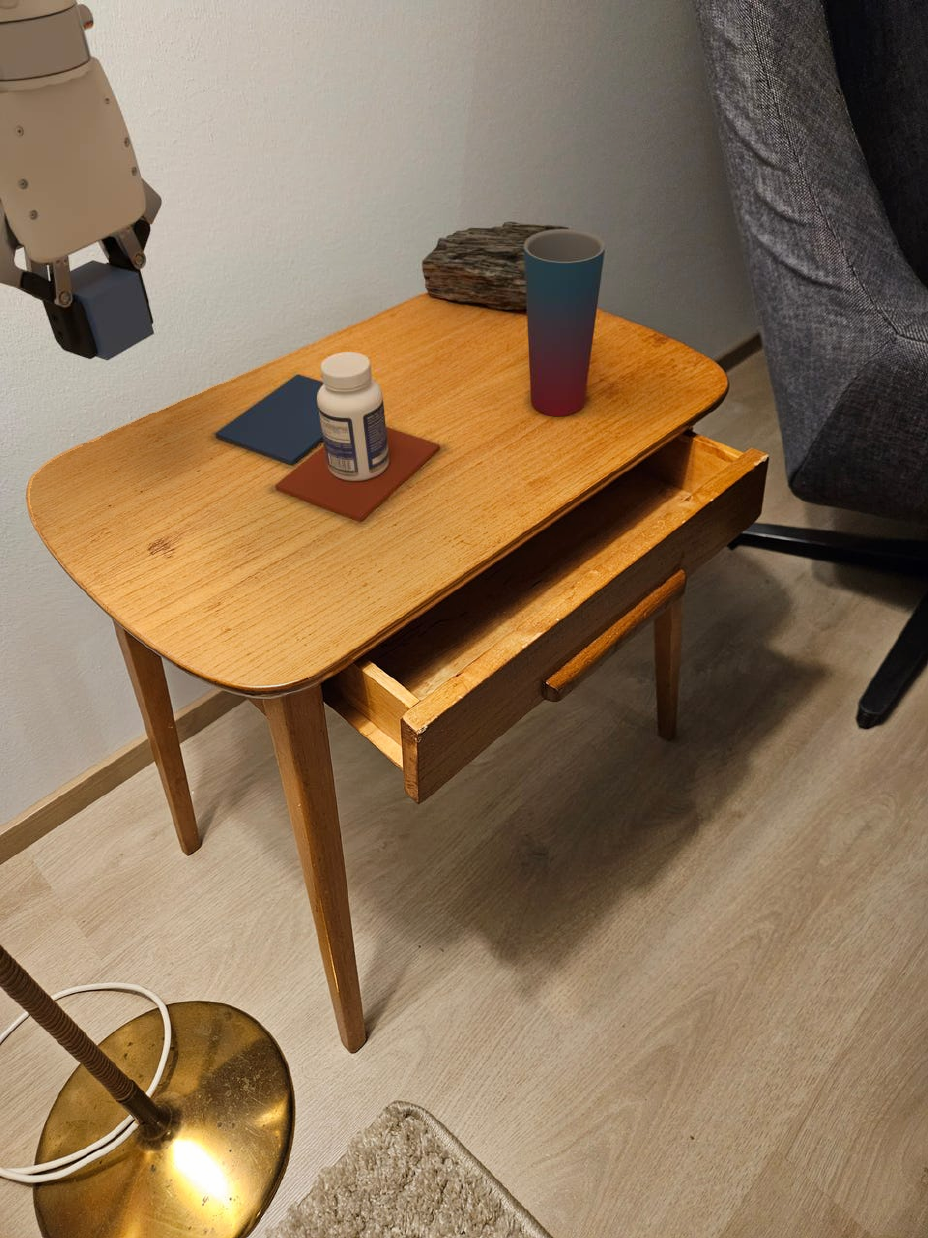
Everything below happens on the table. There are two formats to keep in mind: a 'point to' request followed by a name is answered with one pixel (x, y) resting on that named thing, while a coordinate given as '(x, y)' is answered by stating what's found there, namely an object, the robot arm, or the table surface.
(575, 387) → the cup
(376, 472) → the pill bottle
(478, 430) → the table surface
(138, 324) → the blue block
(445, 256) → the rock
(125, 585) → the table surface
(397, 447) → the rust mat
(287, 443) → the blue mat
